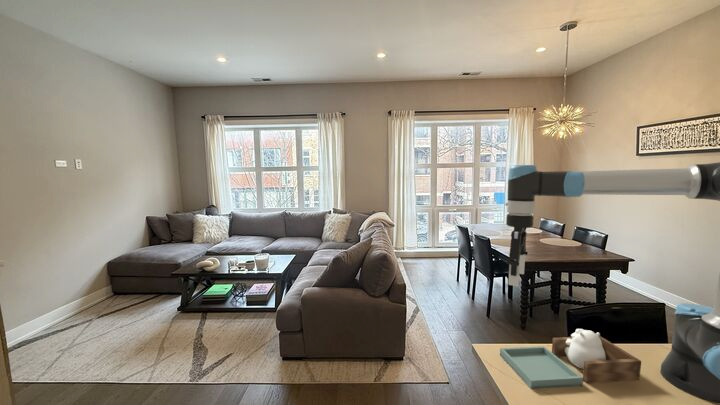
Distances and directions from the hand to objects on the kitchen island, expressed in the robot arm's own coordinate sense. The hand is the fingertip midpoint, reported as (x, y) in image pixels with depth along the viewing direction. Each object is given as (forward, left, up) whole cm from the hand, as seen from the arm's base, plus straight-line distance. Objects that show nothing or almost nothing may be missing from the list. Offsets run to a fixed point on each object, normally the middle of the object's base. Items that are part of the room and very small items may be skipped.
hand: (516, 279), depth 95 cm
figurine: (-20, -6, -27) cm, 34 cm away
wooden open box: (-22, -7, -27) cm, 35 cm away
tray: (-7, +3, -27) cm, 28 cm away
